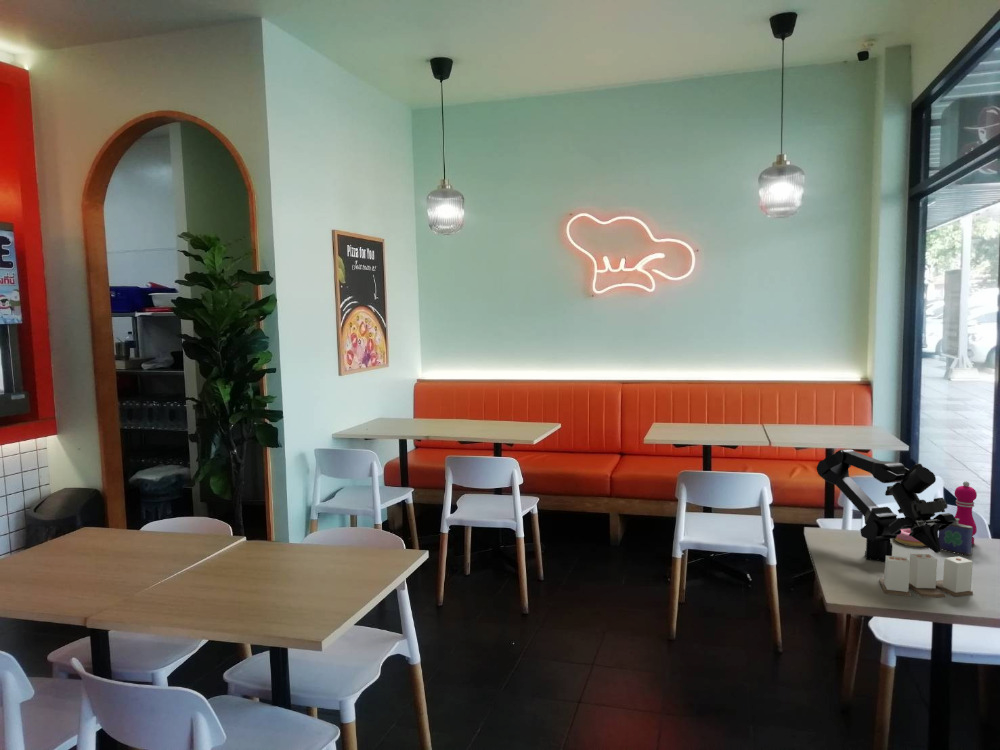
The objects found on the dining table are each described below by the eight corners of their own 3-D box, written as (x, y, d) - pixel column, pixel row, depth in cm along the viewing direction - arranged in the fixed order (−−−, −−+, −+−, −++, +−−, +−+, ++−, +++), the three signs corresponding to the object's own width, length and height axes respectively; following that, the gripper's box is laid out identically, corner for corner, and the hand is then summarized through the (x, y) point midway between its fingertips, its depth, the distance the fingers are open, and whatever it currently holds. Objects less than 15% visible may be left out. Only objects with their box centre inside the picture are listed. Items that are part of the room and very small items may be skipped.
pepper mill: (944, 539, 232) (947, 479, 230) (958, 537, 235) (962, 477, 233) (966, 546, 226) (970, 485, 224) (980, 543, 229) (985, 482, 227)
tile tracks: (881, 592, 190) (881, 589, 189) (877, 572, 204) (877, 570, 203) (979, 607, 180) (979, 604, 180) (968, 585, 194) (968, 582, 194)
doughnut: (892, 535, 238) (893, 523, 237) (931, 540, 232) (931, 528, 232) (891, 544, 229) (892, 531, 228) (931, 550, 223) (932, 537, 223)
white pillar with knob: (942, 586, 191) (944, 557, 190) (957, 584, 192) (959, 555, 192) (955, 592, 187) (957, 562, 186) (970, 590, 188) (972, 560, 188)
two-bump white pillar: (908, 582, 194) (910, 553, 193) (927, 582, 194) (928, 553, 193) (916, 588, 190) (918, 558, 189) (935, 588, 190) (937, 558, 189)
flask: (972, 554, 219) (974, 520, 218) (968, 556, 217) (970, 522, 216) (939, 546, 226) (941, 513, 225) (935, 548, 224) (937, 515, 223)
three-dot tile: (884, 584, 193) (885, 554, 192) (904, 586, 191) (906, 556, 190) (886, 589, 189) (888, 559, 188) (908, 592, 188) (909, 561, 187)
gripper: (899, 489, 196) (930, 542, 186) (953, 485, 201) (986, 536, 191) (875, 509, 204) (903, 560, 195) (927, 504, 209) (958, 554, 200)
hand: (938, 552), depth 195 cm, fingers closed
